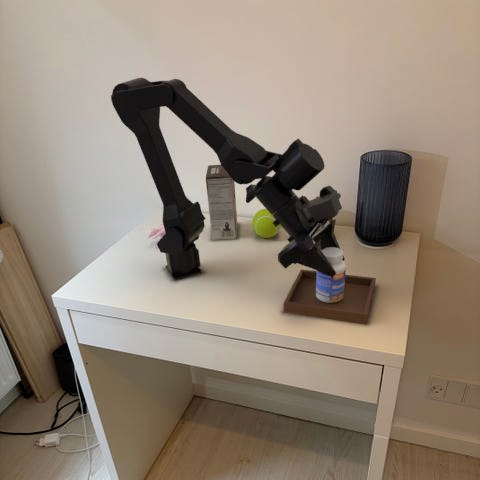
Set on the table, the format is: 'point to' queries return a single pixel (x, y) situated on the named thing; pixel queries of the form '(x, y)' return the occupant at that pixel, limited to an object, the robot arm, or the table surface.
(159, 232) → the rabbit figure
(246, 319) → the table surface
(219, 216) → the coffee box
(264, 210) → the tennis ball
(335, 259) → the pill bottle
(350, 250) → the table surface
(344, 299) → the tray
